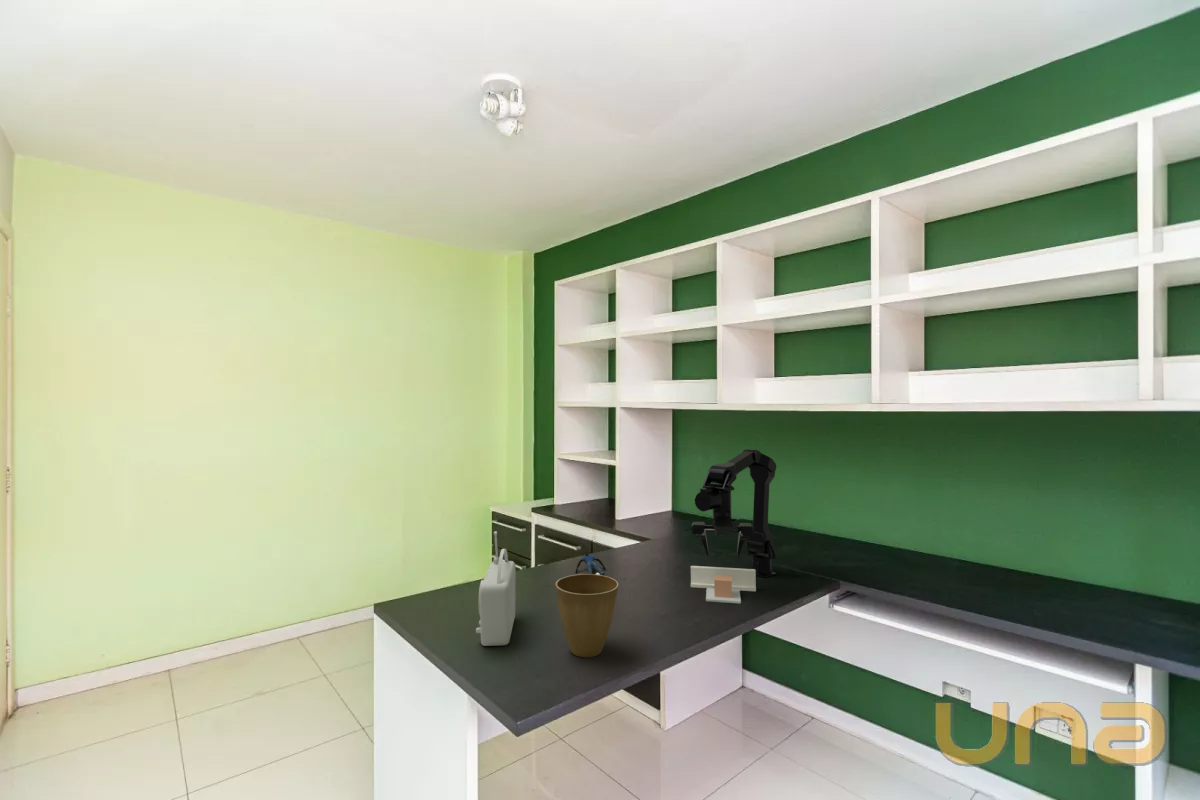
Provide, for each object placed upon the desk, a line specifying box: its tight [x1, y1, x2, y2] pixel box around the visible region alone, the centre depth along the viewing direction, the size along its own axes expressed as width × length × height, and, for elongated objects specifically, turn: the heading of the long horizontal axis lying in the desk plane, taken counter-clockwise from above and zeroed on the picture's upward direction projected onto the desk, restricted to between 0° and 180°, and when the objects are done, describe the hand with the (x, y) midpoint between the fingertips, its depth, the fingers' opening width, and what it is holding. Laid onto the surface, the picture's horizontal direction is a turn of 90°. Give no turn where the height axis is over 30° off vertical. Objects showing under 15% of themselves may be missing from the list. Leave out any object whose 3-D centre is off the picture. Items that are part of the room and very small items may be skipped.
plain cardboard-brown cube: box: [714, 575, 732, 598], centre depth 164 cm, size 5×5×5 cm
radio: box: [475, 530, 516, 647], centre depth 140 cm, size 22×8×25 cm, turn 4°
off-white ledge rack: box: [690, 565, 757, 592], centre depth 173 cm, size 4×20×6 cm, turn 78°
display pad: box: [705, 588, 742, 604], centre depth 164 cm, size 10×10×1 cm
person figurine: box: [575, 553, 607, 576], centre depth 188 cm, size 11×4×18 cm
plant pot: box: [555, 573, 619, 658], centre depth 129 cm, size 15×15×16 cm
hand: (722, 556), depth 169 cm, fingers open, 9 cm apart
